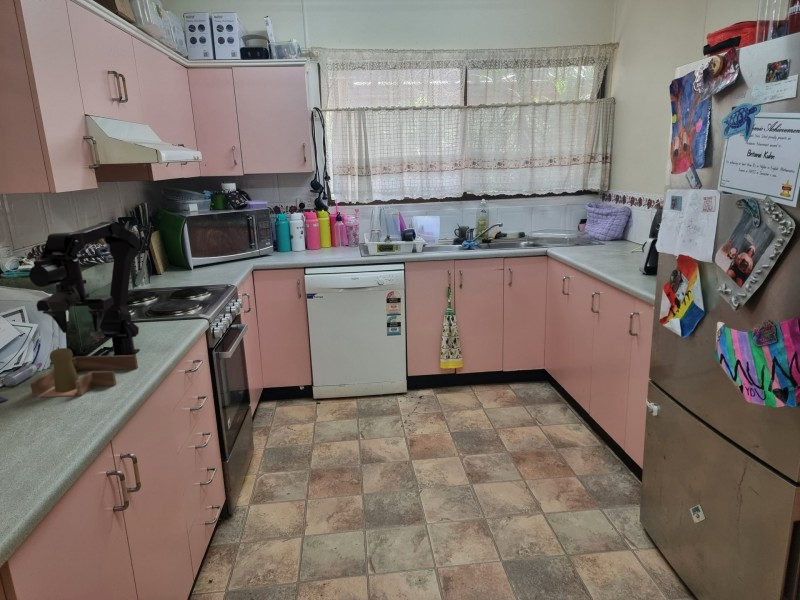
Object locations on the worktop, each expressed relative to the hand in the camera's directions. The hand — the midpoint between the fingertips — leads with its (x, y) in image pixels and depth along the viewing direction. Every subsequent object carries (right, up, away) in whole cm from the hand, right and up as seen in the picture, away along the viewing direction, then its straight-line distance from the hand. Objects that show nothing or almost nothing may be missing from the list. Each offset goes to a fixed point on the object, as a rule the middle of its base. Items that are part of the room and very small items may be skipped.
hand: (81, 332), depth 149 cm
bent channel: (+3, -14, -2) cm, 14 cm away
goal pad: (0, -15, -6) cm, 16 cm away
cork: (0, -15, -6) cm, 16 cm away
